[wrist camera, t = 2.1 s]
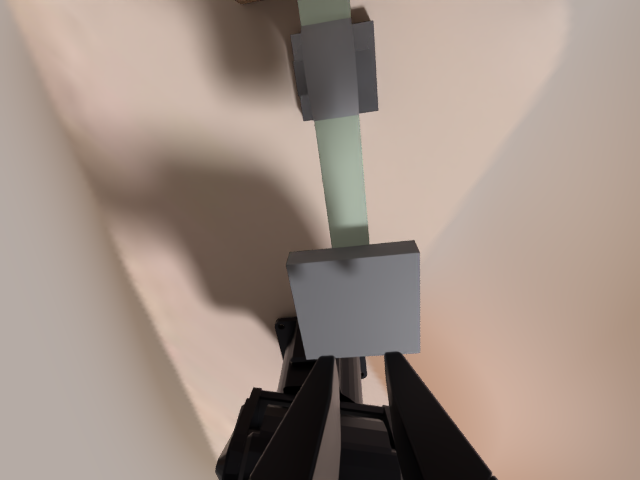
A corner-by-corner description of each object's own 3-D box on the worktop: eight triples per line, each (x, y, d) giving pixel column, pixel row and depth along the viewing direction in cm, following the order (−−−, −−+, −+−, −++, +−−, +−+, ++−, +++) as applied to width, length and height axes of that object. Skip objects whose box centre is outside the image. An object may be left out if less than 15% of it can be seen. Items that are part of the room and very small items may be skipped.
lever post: (376, 109, 18) (400, 130, 11) (305, 119, 18) (283, 146, 11) (371, 23, 16) (395, -18, 9) (292, 36, 16) (257, 8, 10)
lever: (395, 268, 16) (420, 352, 11) (316, 275, 17) (306, 359, 12) (368, -397, 8) (415, -1197, 3) (210, -347, 8) (19, -963, 3)
